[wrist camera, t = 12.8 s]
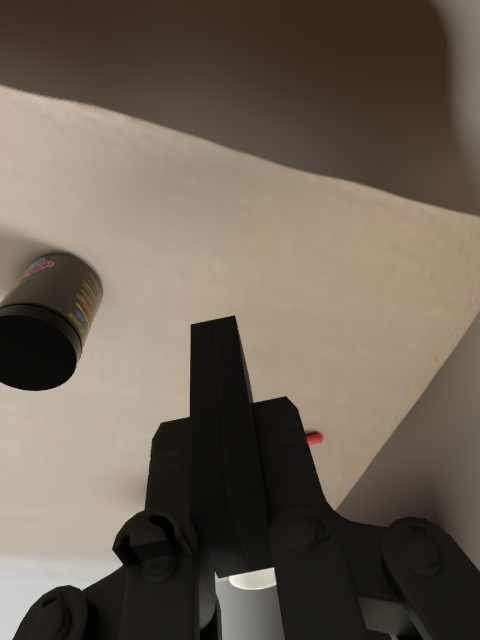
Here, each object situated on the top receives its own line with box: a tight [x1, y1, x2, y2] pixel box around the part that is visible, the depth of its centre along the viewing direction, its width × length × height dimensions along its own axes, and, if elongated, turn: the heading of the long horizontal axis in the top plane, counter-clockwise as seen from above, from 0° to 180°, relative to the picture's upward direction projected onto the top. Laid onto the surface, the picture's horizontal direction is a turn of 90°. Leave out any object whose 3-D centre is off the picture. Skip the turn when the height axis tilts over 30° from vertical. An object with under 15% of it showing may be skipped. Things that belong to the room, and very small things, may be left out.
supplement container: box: [0, 254, 103, 391], centre depth 32 cm, size 7×7×10 cm
